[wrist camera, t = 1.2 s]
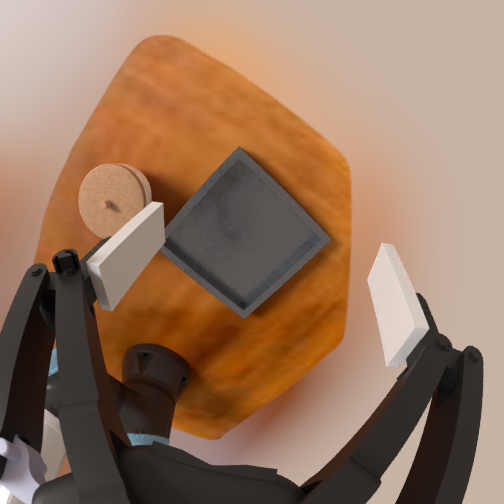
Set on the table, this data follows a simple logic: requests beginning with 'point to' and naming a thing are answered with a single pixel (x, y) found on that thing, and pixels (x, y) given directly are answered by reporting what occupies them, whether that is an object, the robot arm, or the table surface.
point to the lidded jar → (112, 197)
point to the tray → (242, 235)
